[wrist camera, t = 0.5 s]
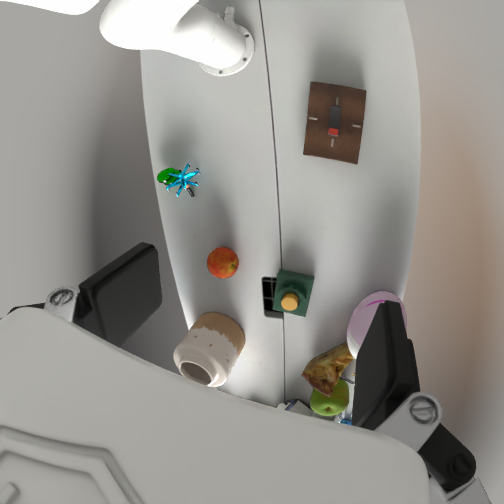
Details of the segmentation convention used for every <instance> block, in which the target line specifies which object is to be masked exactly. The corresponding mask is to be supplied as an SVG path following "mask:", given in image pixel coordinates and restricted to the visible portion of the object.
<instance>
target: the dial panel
mask: <svg viewBox="0 0 504 504" xmlns="http://www.w3.org/2000/svg"><path fill="white" fill-rule="evenodd" d="M365 101H366V90H361V89H356V88H351V87H345V86H339V85H333V84H326V83H319V82H311V84H310V95H309V106H308V116H307V125H306V135H305V144H304V152H303V155H308V156H315V157H320V158H326V159H332V160H337V161H342V162H347V163H352V164H357V163H358V157H359V150H360V143H361V136H362V128H363V120H364V111H365ZM330 106H337V107H342V109H341V119H340V127H339V136H338V137H337V136H331V135H327V133H328V125H329V116H330Z"/></svg>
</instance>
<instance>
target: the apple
mask: <svg viewBox="0 0 504 504" xmlns="http://www.w3.org/2000/svg"><path fill="white" fill-rule="evenodd" d="M348 404H349V388H348V384H347V383H346V382H345V381H344V380H342V379H340V378H339V380H338V383H337V386H335V387H334V390H333V393H332V395H331V397H328V396H327V395H325V394H323V393H321V392H319V391H317V390H316V389H313V392H312V395H311V399H310V406H311V409H312V410H313V411H314V412H316V413H317V414H320V415H324V416H333V415H338V414H340V413H341V412H343V411H345V409H346V408H347V406H348Z"/></svg>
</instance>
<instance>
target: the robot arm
mask: <svg viewBox="0 0 504 504" xmlns="http://www.w3.org/2000/svg"><path fill="white" fill-rule="evenodd" d="M0 1H8V2H14V3H20V4H26V5H30V6H35V7H39V8H43V9H48V10H51V11H56V12H60V13H65V14H72V15H76V14H82V13H84V12H87V11H88V10H90V9H91V8H92V7H93V6H95V4H96V3H98V1H99V0H0ZM198 1H199V0H111V1H110V2H109V4H108V5H107V7H106V8H105V10H104V12H103V14H102V16H101V19H100V31H101V34H102V35H103V37H104V38H105V39H106V40H107V41H109V42H110V43H112V44H114V45H116V46H119V47H123V48H128V49H158V50H163V51H167V52H170V53H173V54H176V55H180V56H183V57H186V58H189V59H192V60H194V61H197V62H198V64H199V65H200V67H201V68H202V69H203V70H204V71H206V72H207V73H209V74H212V75H216V76H228V75H232V74H235V73H237V72H239V71H240V70H242V69H243V68H244V67H245V66H246V65H247V64H248V63H249V62H250V60H251V59H252V56H253V54H254V50H255V43H254V39H253V37H252V35H251V33H250V32H249V31H248V30H247V29H246V28H245V27H243V26H241V25H239V24H236V23H235V20H233V16H234V10H235V8H234V7H226V8H225V12H224V15H225V16H224V19H223V20H222V19H221V14H220V13H215V14H214V13H213V12H211V11H210V10H209V9H207V8H206V7H204V6H203V5H201V4H198V3H197V2H198ZM247 36H249V37H247ZM246 59H247V60H246ZM245 60H246V61H245ZM222 72H223V73H222ZM79 289H80V293H78V294H77V291H76V290H75V289H74V288H72V287H61V288H58V289H55V290H54V291H52V292H51V293H50V294H49V295H48V297H47V300H46V302H45V303H41V304H33V305H27V306H20V307H14V308H13V309H11V310H10V312H9V313H8V314H7V315H6V316H5V317H4V318H0V504H491V502H490V500H489V498H488V496H487V493H486V491H485V489H484V487H483V485H482V483H481V481H480V479H479V478H477V479H476V480H475V478H474V474H475V470H476V461H475V458H474V456H473V455H472V453H471V452H470V451H469V450H468V449H467V448H466V447H465V446H463V444H462V443H461V442H460V441H458V440H457V439H456V438H455V437H454V436H453V435H452V434H451V433H450V432H449V431H448V430H447V429H446V428H445V427H444V426H443V425H442V424H441V423H440V421H441V419H442V415H443V410H442V406H441V404H440V402H439V401H438V400H437V399H436V398H435V397H434V396H433V395H431V394H429V393H426V392H420V386H419V378H418V371H417V366H416V359H415V353H414V348H413V343H412V340H410V339H407V333H406V328H405V323H404V318H403V314H402V309H401V305H400V303H399V302H394V301H390V300H385V302H384V303H380V304H379V305H378V308H377V310H376V313H375V315H374V318H373V320H372V322H371V325H370V327H369V329H368V332H367V334H366V336H365V338H364V341H363V343H362V345H361V347H360V349H359V351H358V354H357V358H356V370H355V386H354V398H353V409H352V418H351V425H347V424H342V423H338V422H333V421H328V420H324V419H319V418H314V417H310V416H306V415H302V414H297V413H294V412H290V411H286V410H282V409H278V408H274V407H270V406H267V405H263V404H260V403H256V402H253V401H250V400H247V399H243V398H240V397H237V396H234V395H231V394H228V393H225V392H222V391H219V390H216V389H214V388H211V387H208V386H205V385H203V384H200V383H197V382H195V381H192V380H190V379H187V378H185V377H182V376H179V375H177V374H175V373H172V372H170V371H168V370H165V369H163V368H161V367H158V366H156V365H154V364H152V363H150V362H147V361H145V360H143V359H141V358H139V357H137V356H135V355H133V354H130V353H129V352H126V351H124V350H123V349H120V347H121V346H122V345H123V344H124V343H125V342H126V341H127V340H128V339H129V338H130V337H131V336H132V335H133V333H135V331H136V330H137V329H138V328H139V327H140V326H141V325H142V324H143V323H144V322H145V321H146V320H147V319H148V318H149V317H150V316H151V315H152V314H153V313H154V312H155V311H156V310H157V309H158V308H159V307H160V305H161V303H162V293H161V283H160V274H159V262H158V252H157V250H156V249H155V247H154V246H153V245H151V244H148V243H144V242H142V243H140V244H138V245H136V246H135V247H133V248H132V249H130V250H129V251H127V252H126V253H124V254H123V255H121V256H120V257H118V258H117V259H115V260H114V261H113V262H111V263H109V264H108V265H106V266H105V267H104V268H102V269H101V270H99V271H98V272H97V273H95V274H93V275H92V276H91V277H89V278H88V279H87V280H85V281H84V282H82V283H81V284H80V285H79Z"/></svg>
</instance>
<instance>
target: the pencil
mask: <svg viewBox="0 0 504 504" xmlns="http://www.w3.org/2000/svg"><path fill="white" fill-rule="evenodd" d="M340 377H341V378H343V379H344V380H346V381H348V382H350V383H351V384H353V385H355V382H353V381H351V380H349V379H348V378H346V377H344V376H342V375H341V376H340Z"/></svg>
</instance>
